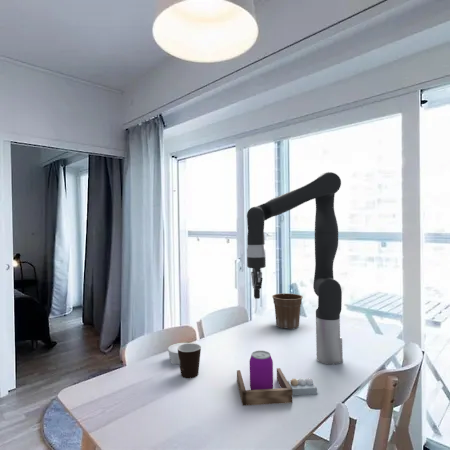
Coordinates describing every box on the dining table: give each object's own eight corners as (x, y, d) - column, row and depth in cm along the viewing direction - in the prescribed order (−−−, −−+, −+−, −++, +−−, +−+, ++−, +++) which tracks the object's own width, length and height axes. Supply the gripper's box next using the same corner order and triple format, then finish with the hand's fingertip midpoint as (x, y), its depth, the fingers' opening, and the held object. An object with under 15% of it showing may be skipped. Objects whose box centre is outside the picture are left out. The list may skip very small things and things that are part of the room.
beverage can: (268, 383, 112) (267, 348, 112) (276, 394, 105) (276, 357, 105) (247, 386, 110) (246, 351, 110) (254, 397, 103) (253, 360, 103)
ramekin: (194, 366, 127) (194, 352, 127) (165, 366, 127) (165, 353, 127) (196, 354, 139) (196, 342, 139) (170, 355, 139) (170, 342, 139)
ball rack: (310, 384, 111) (310, 373, 111) (316, 393, 105) (316, 382, 105) (287, 386, 110) (287, 374, 110) (292, 395, 104) (292, 383, 104)
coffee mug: (197, 380, 115) (197, 352, 115) (174, 379, 117) (174, 351, 117) (206, 366, 126) (205, 341, 126) (184, 365, 128) (184, 339, 128)
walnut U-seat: (280, 379, 115) (279, 368, 115) (292, 402, 100) (292, 389, 100) (236, 381, 114) (236, 370, 114) (242, 405, 98) (242, 392, 99)
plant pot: (286, 319, 188) (285, 291, 188) (309, 326, 175) (308, 296, 175) (266, 325, 177) (266, 295, 178) (289, 332, 165) (288, 300, 165)
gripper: (268, 257, 126) (269, 301, 126) (262, 254, 139) (262, 294, 139) (249, 257, 126) (250, 302, 126) (244, 254, 139) (245, 295, 139)
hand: (256, 298), depth 133 cm, fingers closed
